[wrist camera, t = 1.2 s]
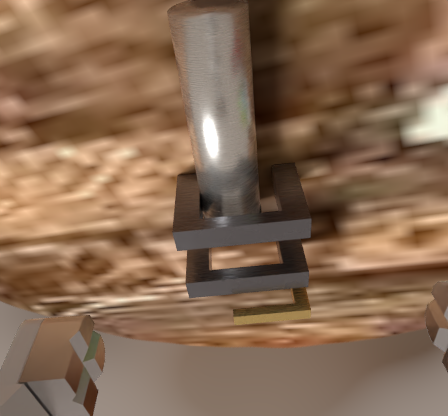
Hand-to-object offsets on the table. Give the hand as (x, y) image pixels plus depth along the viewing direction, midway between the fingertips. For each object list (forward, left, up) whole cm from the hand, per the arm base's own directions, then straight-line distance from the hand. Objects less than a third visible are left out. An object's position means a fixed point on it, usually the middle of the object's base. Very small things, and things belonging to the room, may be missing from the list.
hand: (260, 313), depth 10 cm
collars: (+17, 0, -24) cm, 29 cm away
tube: (+7, 0, -24) cm, 25 cm away
